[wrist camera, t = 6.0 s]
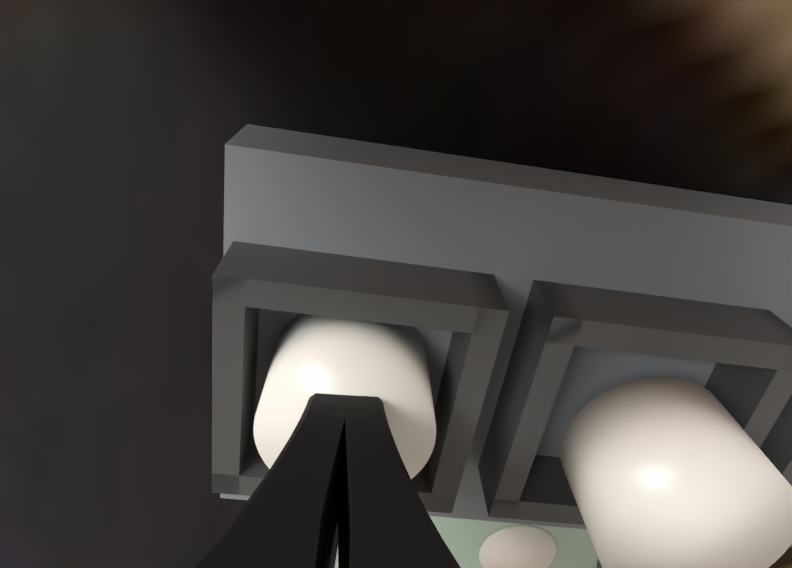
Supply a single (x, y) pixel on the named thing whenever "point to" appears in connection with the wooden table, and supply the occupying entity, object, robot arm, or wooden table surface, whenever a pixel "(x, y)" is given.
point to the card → (514, 545)
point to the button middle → (673, 480)
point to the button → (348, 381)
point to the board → (497, 302)
